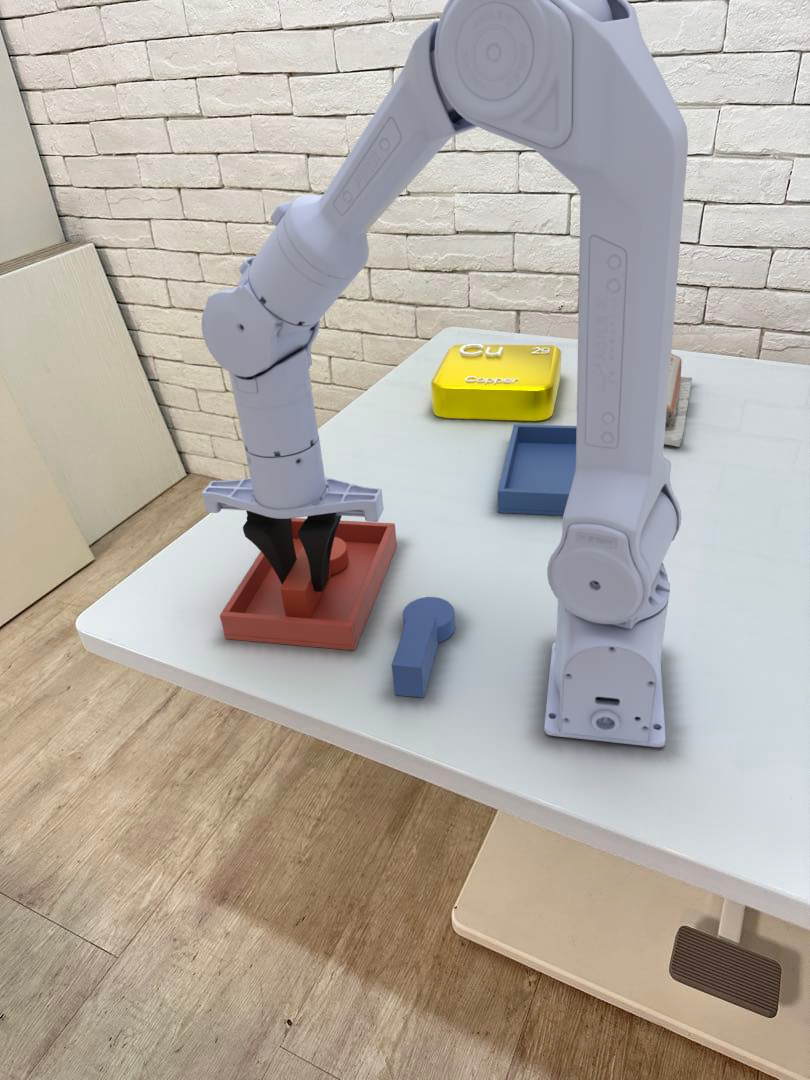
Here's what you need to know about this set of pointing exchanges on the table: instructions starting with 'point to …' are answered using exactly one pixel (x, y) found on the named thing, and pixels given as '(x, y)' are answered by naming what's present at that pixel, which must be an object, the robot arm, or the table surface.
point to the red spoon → (309, 581)
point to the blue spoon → (420, 643)
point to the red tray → (339, 607)
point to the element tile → (497, 382)
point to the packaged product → (676, 403)
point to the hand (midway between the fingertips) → (306, 583)
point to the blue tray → (538, 470)
